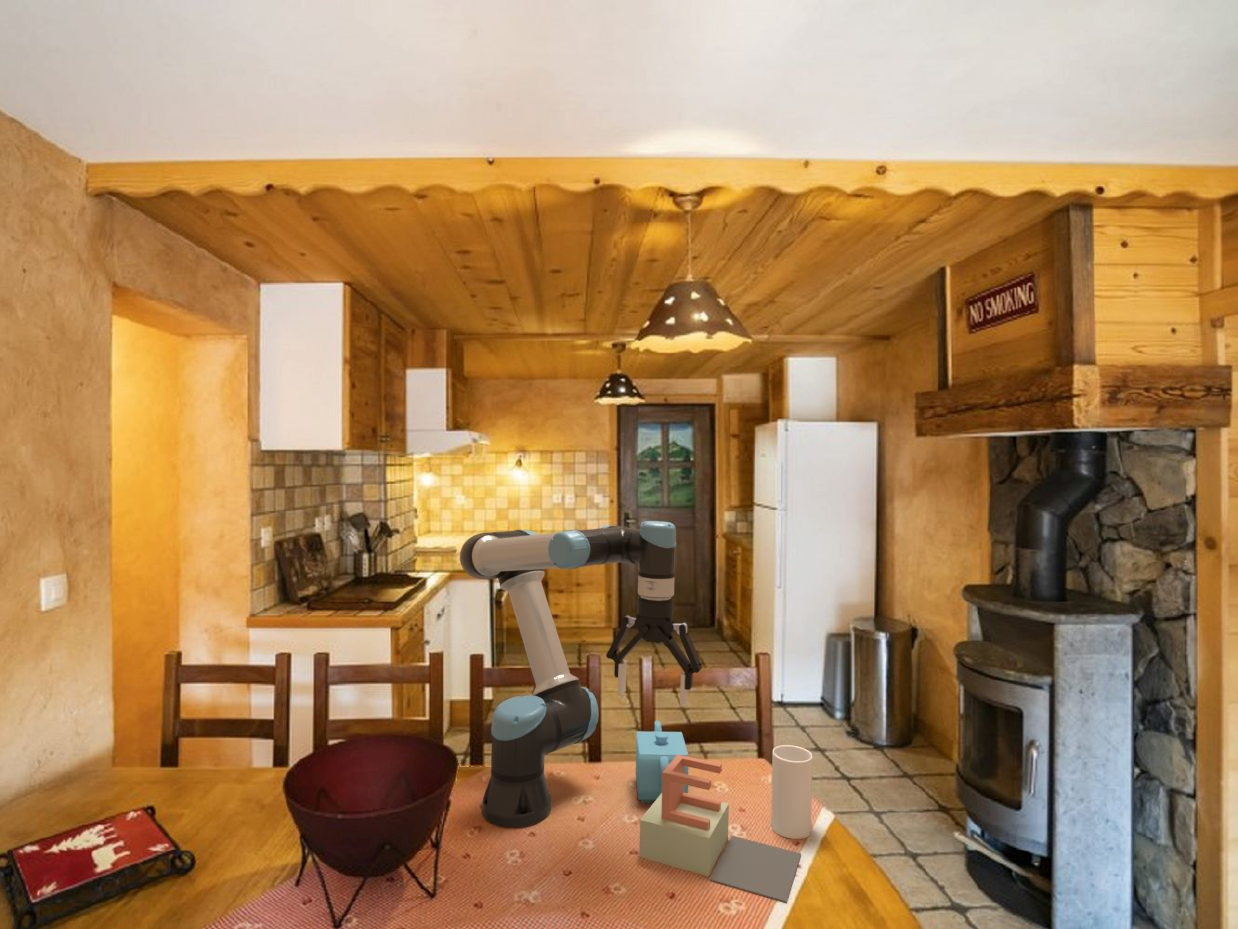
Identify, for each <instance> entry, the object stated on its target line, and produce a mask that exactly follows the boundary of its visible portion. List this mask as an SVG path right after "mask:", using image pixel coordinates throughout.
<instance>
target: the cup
mask: <svg viewBox="0 0 1238 929" xmlns="http://www.w3.org/2000/svg"><path fill="white" fill-rule="evenodd" d="M771 756H772V761H771V762H772V763H771V764H772V765H771V766H772V767H771V769H772V770H771V803H770V804H771V805H770V806H771V807H770V808H771V810H770V811H771V812H770V813H771V814H770V827H771V829H772V830H773V832H774V833H776V834H777V835H779V836H782V837H784V838H787V839H792V840H800V839H805V838H808V837H809V836H810V835H811V833H812V800H813V799H812V797H813V796H812V795H813V794H812V792H813V754H812V753H811V751H809V750H808V749H806V748H804V747H803V746H802V747H801V746H796V745H793V744H791V745H790V744H783V745H777V746H775V747H773V748H772V755H771Z"/></svg>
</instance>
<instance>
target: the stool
mask: <svg viewBox="0 0 1238 929" xmlns="http://www.w3.org/2000/svg"><path fill="white" fill-rule="evenodd" d="M684 766H687V767H688V768H691V769H696V770H701V771H706V772H711V773H716V774H718V775H719V774H721V773H722V770H723V769H722V766H723V763H720V762H715V761H711V760H706V759H702V758H695V757H692V756H689V757H687V756H682V755H677V756H676V757H675V758H674V759H673V760H672V762H671V763H670V764H669V765H668V766H667V767H666V769H665V770H664V771H663V772H662V813H661V818H663V819H667V820H671V821H675V822H678V823H682V824H686V825H690V826H694V827H698V828H702V829H705V830H708V829H709V828H710V819H707V818H703V817H699V816H695V815H691V814H687V813H683V812H679V811H675V810H676V809H677V807H678V806H679V805H680V803H681V802H682V803H686V804H690V805H695V806H699V807H703V808H707V809H711V810H715V811H719V810H720V809H721V802H722V801H721V800H716V799H713V798H708V797H704V796H700V795H696V794H691V793H689V792H688V793H684V785H688V787H693V788H697V789H701V790H707V791H710V789H711V788H712V779H709V778H704V777H700V776H695V775H691V774H689V773H688V774H684Z"/></svg>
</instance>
